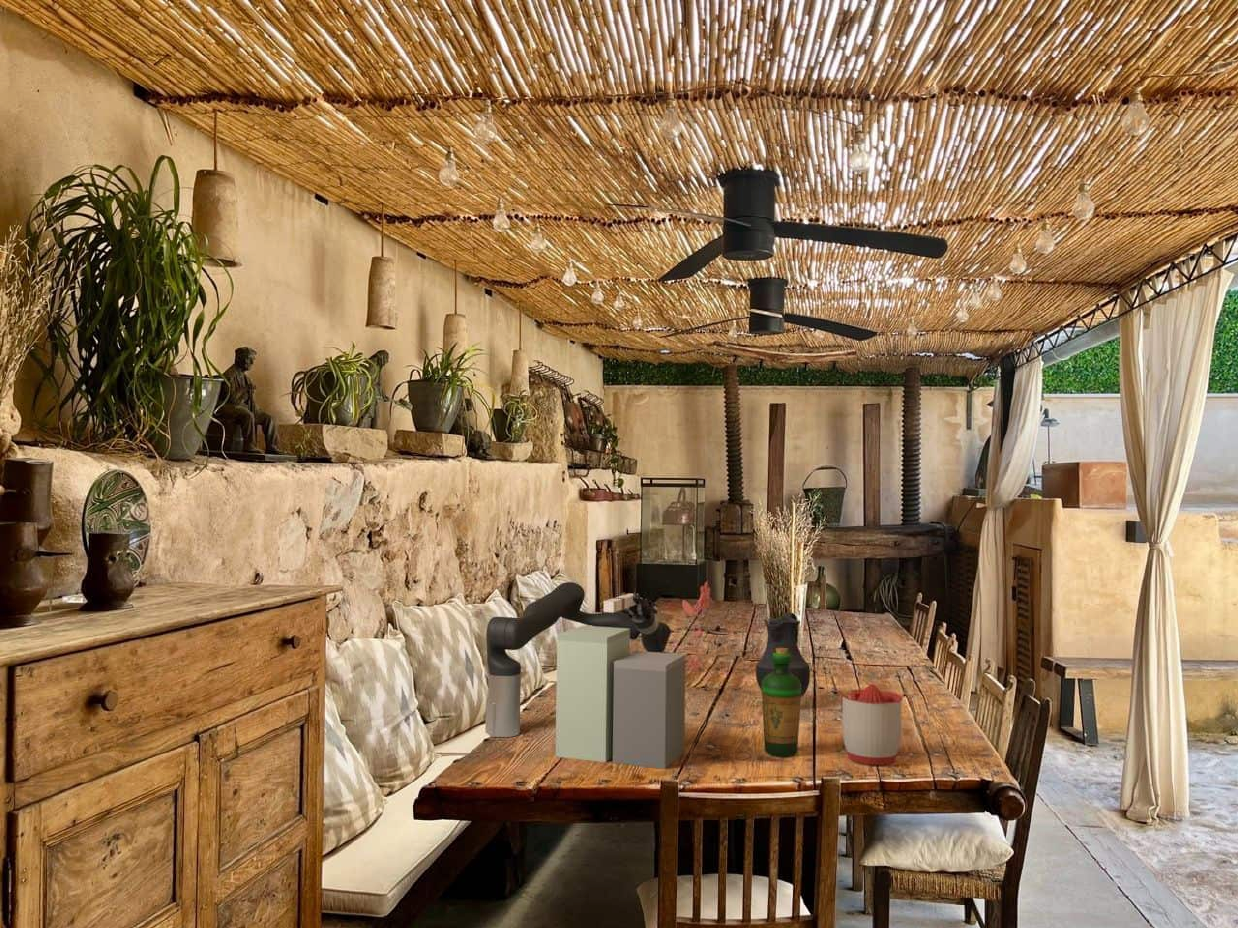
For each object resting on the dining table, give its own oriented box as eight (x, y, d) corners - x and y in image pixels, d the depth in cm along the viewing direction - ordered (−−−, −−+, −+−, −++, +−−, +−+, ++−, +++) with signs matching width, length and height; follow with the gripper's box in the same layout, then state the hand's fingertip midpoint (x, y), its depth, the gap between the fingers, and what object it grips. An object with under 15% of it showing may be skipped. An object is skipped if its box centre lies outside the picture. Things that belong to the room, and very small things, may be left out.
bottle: (770, 759, 255) (771, 652, 256) (754, 749, 265) (755, 646, 266) (807, 757, 258) (808, 651, 259) (790, 746, 268) (791, 644, 269)
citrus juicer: (851, 747, 268) (851, 674, 269) (911, 759, 257) (912, 683, 258) (824, 759, 256) (825, 683, 257) (887, 772, 245) (887, 692, 246)
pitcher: (748, 709, 314) (749, 615, 314) (769, 697, 332) (770, 609, 333) (800, 715, 305) (801, 619, 306) (819, 703, 324) (820, 612, 325)
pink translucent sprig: (675, 676, 366) (678, 583, 367) (696, 665, 390) (699, 578, 390) (714, 681, 360) (717, 586, 361) (733, 669, 384) (736, 580, 385)
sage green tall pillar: (581, 740, 273) (582, 625, 273) (628, 745, 268) (629, 628, 269) (555, 756, 256) (557, 634, 256) (605, 762, 251) (607, 637, 252)
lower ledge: (635, 745, 267) (636, 650, 268) (684, 751, 262) (685, 654, 263) (612, 762, 250) (614, 661, 251) (664, 768, 246) (666, 665, 246)
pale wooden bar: (629, 603, 294) (629, 593, 294) (638, 603, 293) (638, 593, 293) (603, 611, 273) (603, 600, 274) (613, 612, 272) (613, 601, 272)
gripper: (624, 605, 307) (608, 582, 293) (667, 608, 302) (653, 584, 288) (620, 628, 303) (604, 605, 289) (663, 630, 299) (649, 608, 285)
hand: (628, 595), depth 289 cm, fingers closed on pale wooden bar, 3 cm apart
